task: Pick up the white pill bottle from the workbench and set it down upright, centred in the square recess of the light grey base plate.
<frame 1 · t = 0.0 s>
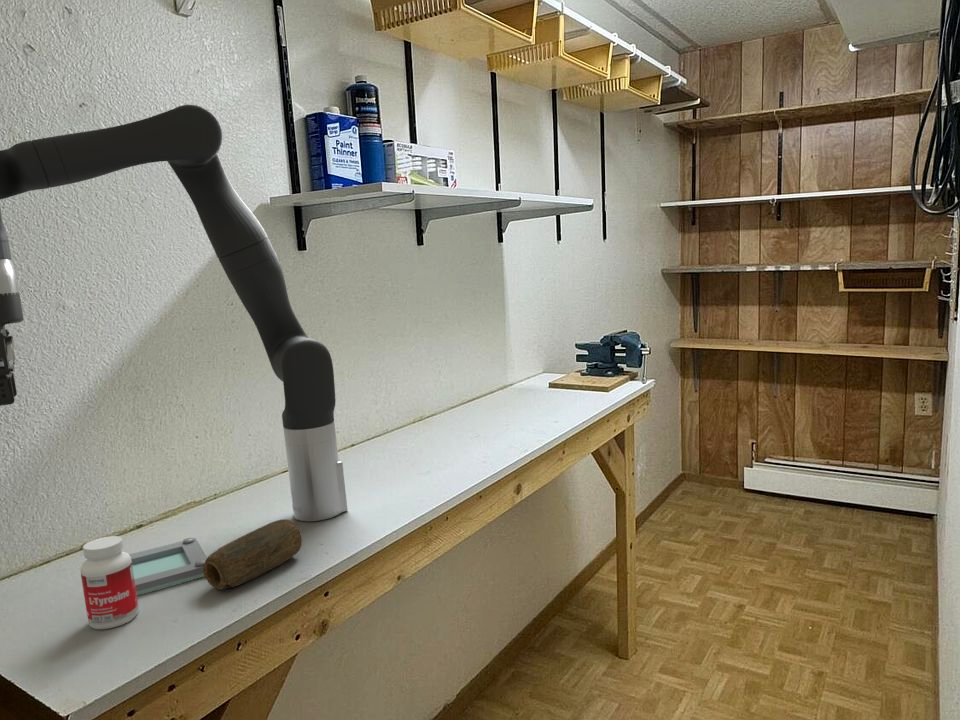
hand: (7, 400, 106), 29 cm above the table, tool pointing down, fingers open, 8 cm apart
base plate: (157, 572, 111), on the table
brown textured cylinder: (256, 575, 108), on the table
pill bottle: (114, 620, 96), on the table
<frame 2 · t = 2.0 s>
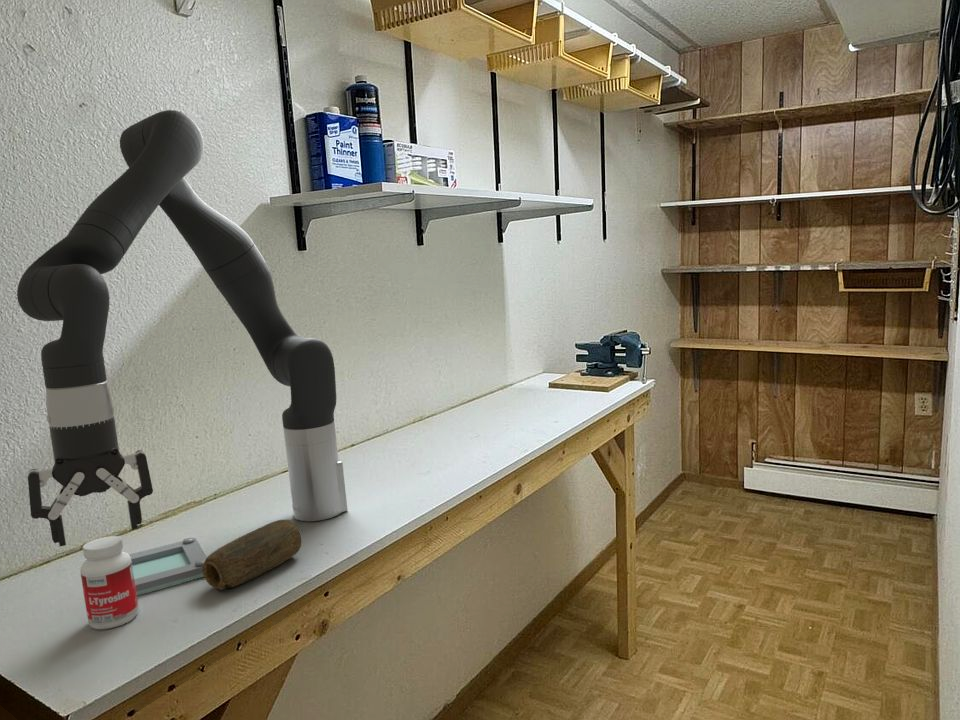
hand: (99, 536, 95), 12 cm above the table, tool pointing down, fingers open, 8 cm apart
nothing on the table moved.
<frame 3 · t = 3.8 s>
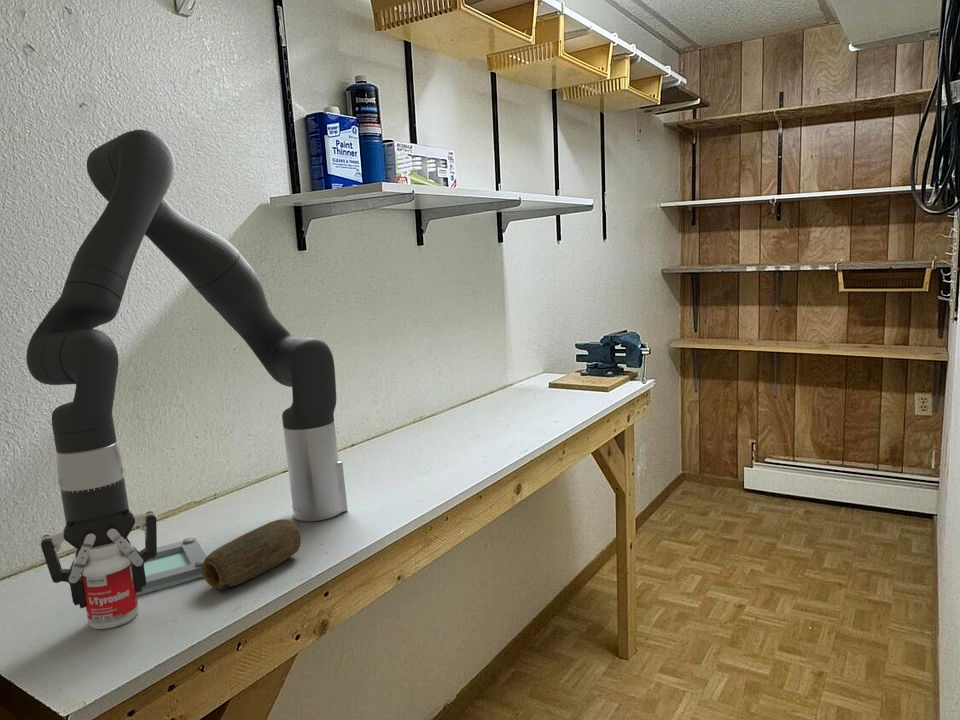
hand: (111, 597, 96), 3 cm above the table, tool pointing down, fingers closed on pill bottle, 6 cm apart
pill bottle: (114, 620, 96), on the table, touching gripper
everything else where it was.
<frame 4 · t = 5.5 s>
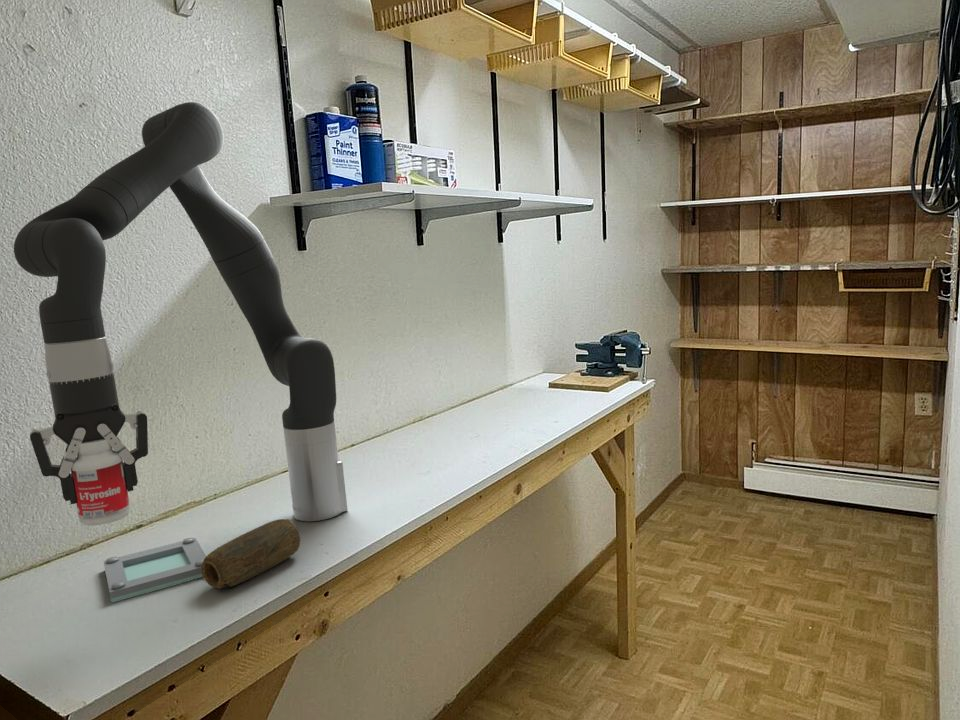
hand: (102, 495, 95), 17 cm above the table, tool pointing down, fingers closed on pill bottle, 6 cm apart
pill bottle: (106, 519, 96), point 14 cm above the table, touching gripper
everything else where it was.
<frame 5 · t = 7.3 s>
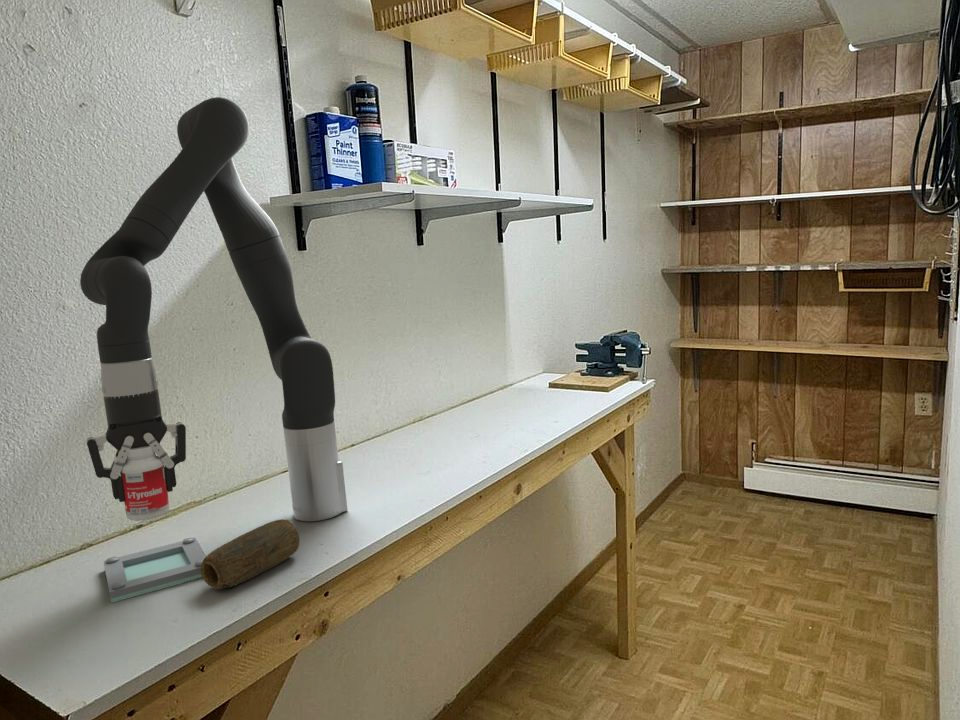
hand: (145, 495, 109), 13 cm above the table, tool pointing down, fingers closed on pill bottle, 6 cm apart
pill bottle: (148, 515, 110), point 9 cm above the table, touching gripper
everything else where it was.
when the fingers open (5 cm above the table, at t = 9.5 s): pill bottle drops 1 cm, resting on base plate.
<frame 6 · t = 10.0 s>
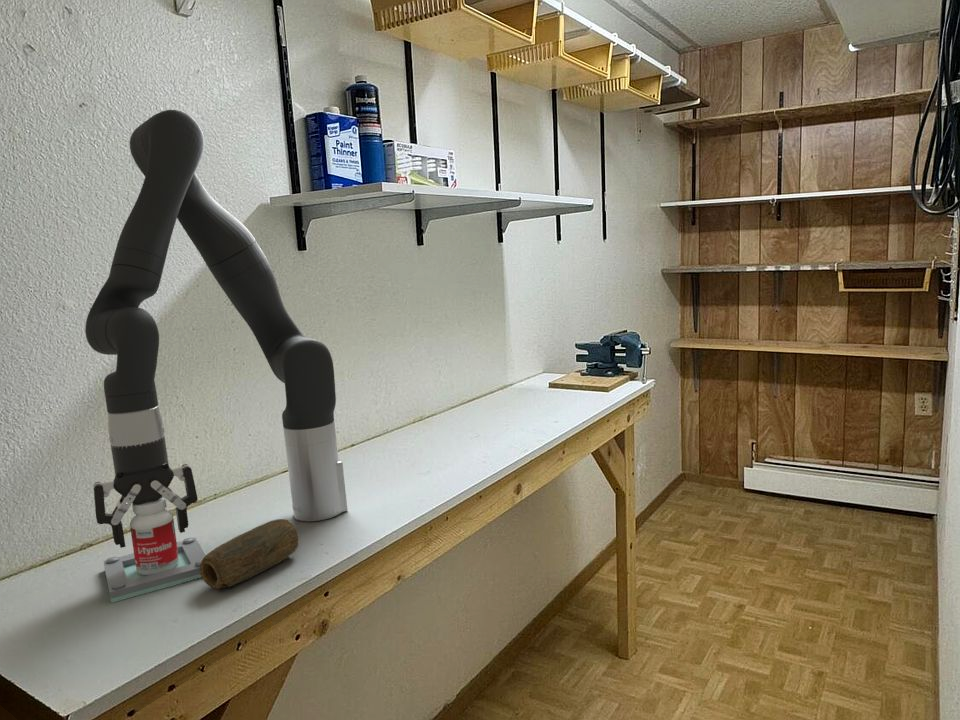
hand: (152, 538, 110), 6 cm above the table, tool pointing down, fingers open, 8 cm apart
pill bottle: (158, 569, 111), resting on base plate
everything else where it was.
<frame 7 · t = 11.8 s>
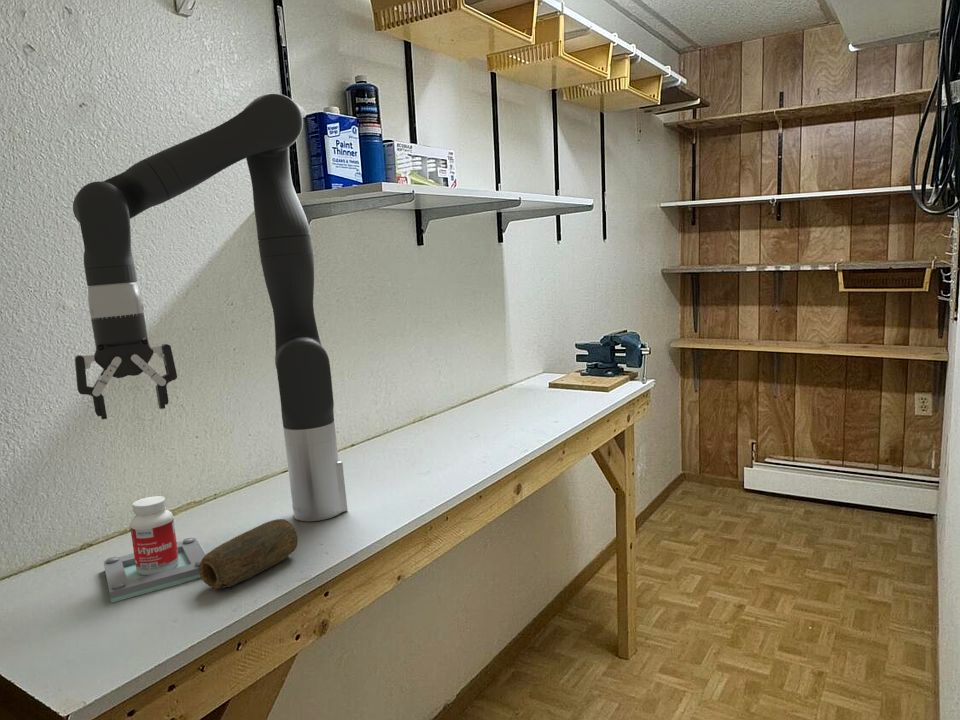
hand: (133, 413, 114), 25 cm above the table, tool pointing down, fingers open, 8 cm apart
nothing on the table moved.
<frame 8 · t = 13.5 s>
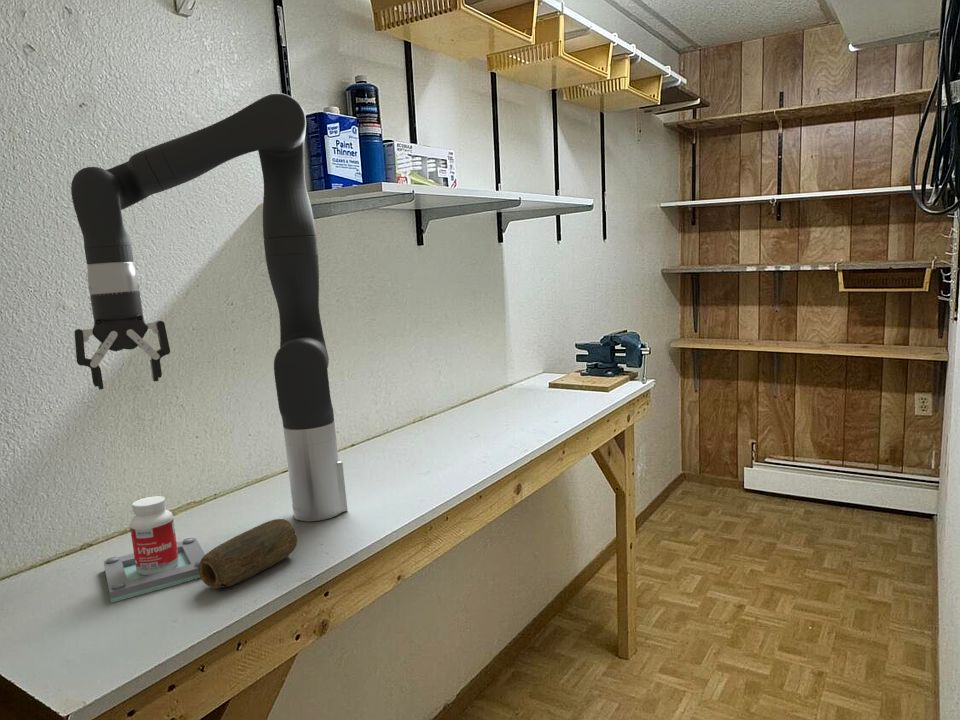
hand: (128, 384, 121), 28 cm above the table, tool pointing down, fingers open, 8 cm apart
nothing on the table moved.
at the end: pill bottle 0.2 cm off-centre on the base plate, point 0.4 cm above the base plate's base; pill bottle tilted 0°; the gripper is holding nothing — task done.
